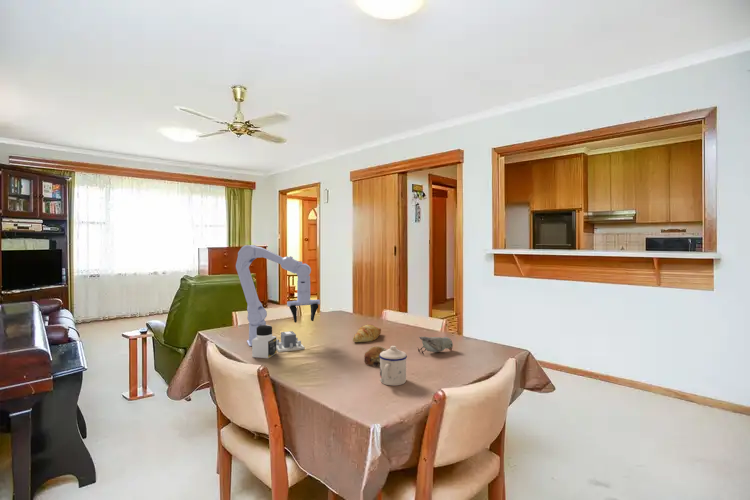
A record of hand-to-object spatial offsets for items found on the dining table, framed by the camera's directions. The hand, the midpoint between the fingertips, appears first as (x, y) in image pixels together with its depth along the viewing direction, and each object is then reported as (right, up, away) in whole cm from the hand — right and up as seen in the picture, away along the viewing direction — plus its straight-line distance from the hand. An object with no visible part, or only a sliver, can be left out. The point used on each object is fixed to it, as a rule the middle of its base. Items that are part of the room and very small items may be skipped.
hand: (303, 321), depth 176 cm
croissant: (+28, -10, +9) cm, 31 cm away
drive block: (-6, -9, -5) cm, 12 cm away
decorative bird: (+57, -11, -13) cm, 60 cm away
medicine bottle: (-13, -11, -18) cm, 24 cm away
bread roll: (+33, -11, -26) cm, 43 cm away
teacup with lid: (+37, -12, -47) cm, 61 cm away
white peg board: (-6, -10, -6) cm, 13 cm away
